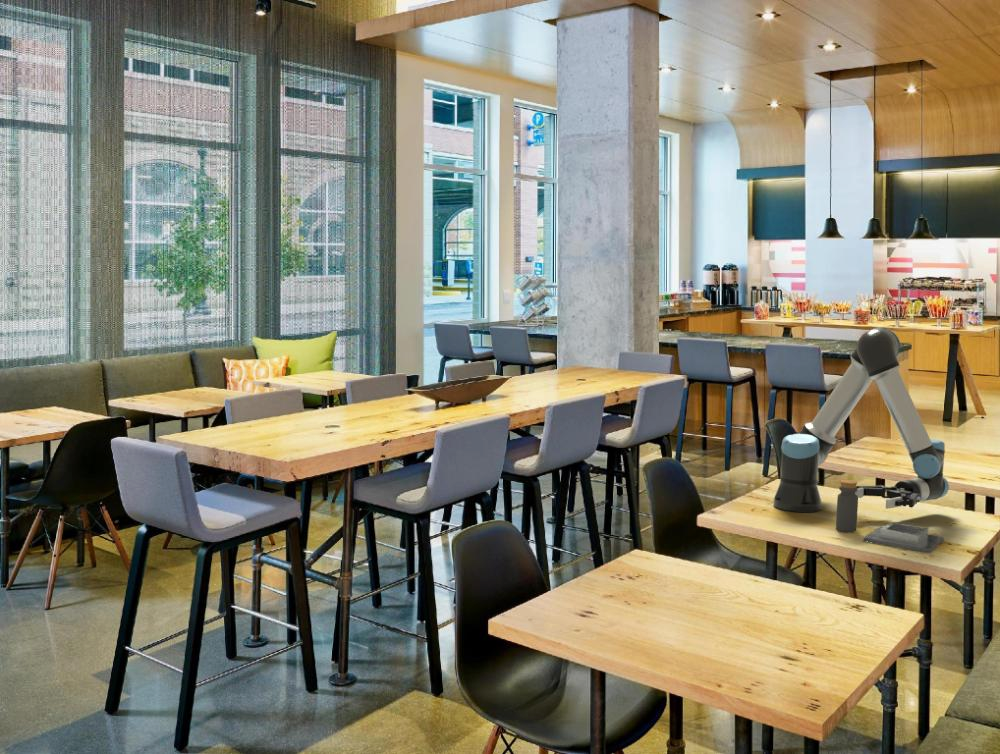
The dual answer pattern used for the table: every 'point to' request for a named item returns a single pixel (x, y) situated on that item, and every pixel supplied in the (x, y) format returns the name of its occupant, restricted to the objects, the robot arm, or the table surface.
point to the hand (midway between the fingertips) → (867, 499)
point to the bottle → (847, 507)
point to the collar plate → (904, 537)
